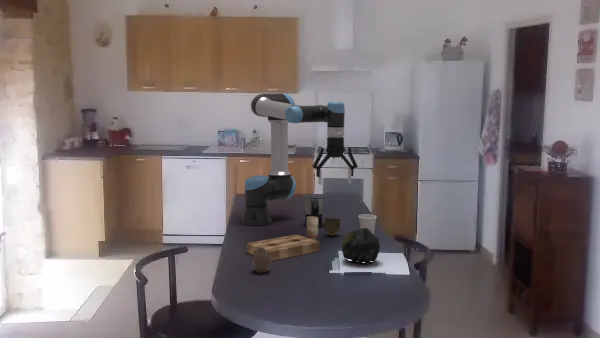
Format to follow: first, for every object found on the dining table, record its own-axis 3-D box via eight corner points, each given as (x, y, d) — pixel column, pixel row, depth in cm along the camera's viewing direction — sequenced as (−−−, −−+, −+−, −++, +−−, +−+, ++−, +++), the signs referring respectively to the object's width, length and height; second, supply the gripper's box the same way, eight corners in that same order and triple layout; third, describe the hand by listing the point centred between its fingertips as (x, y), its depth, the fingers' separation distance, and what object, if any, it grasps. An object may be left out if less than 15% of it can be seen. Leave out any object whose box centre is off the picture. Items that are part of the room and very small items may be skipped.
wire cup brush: (338, 237, 288) (339, 220, 287) (322, 237, 289) (323, 220, 288) (340, 234, 295) (341, 217, 294) (325, 233, 297) (325, 216, 296)
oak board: (247, 252, 262) (247, 243, 261) (296, 243, 278) (296, 234, 277) (269, 261, 250) (269, 251, 249) (319, 250, 266) (319, 241, 265)
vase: (252, 268, 239) (252, 246, 238) (270, 268, 240) (270, 246, 239) (252, 274, 233) (252, 251, 231) (271, 274, 233) (271, 251, 232)
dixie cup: (363, 234, 296) (364, 213, 294) (379, 236, 291) (380, 215, 289) (354, 237, 289) (355, 216, 287) (370, 240, 284) (371, 218, 283)
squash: (341, 241, 260) (343, 220, 248) (377, 243, 259) (381, 222, 248) (340, 271, 250) (343, 251, 239) (378, 273, 250) (382, 253, 239)
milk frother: (301, 224, 315) (301, 195, 313) (329, 221, 321) (330, 193, 319) (313, 230, 302) (313, 200, 300) (342, 227, 308) (342, 198, 306)
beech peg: (304, 242, 279) (304, 217, 277) (313, 241, 282) (313, 215, 280) (311, 245, 275) (311, 219, 273) (320, 243, 278) (320, 217, 277)
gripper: (309, 137, 273) (309, 185, 276) (365, 137, 277) (364, 184, 280) (306, 136, 280) (305, 183, 283) (360, 135, 285) (359, 181, 288)
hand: (334, 183), depth 282 cm, fingers open, 13 cm apart
